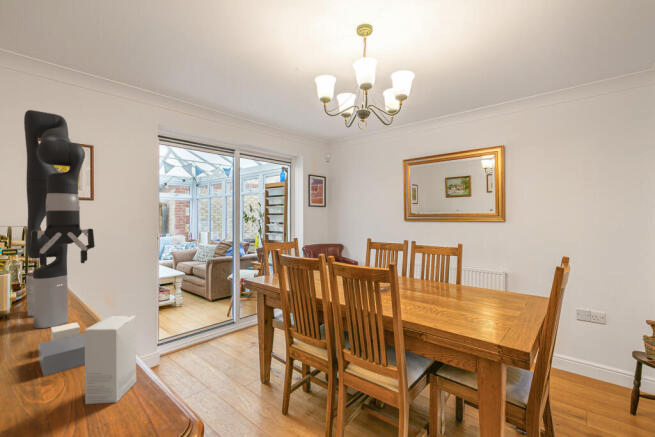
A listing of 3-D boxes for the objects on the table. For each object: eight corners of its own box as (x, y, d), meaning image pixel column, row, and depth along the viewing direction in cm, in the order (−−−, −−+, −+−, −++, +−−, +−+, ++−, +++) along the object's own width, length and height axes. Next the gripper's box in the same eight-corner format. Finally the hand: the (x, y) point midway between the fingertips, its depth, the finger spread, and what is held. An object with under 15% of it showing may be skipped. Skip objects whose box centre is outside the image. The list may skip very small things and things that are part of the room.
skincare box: (109, 383, 71) (107, 315, 71) (139, 381, 72) (138, 314, 71) (83, 405, 63) (81, 329, 62) (117, 403, 63) (116, 327, 63)
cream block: (51, 347, 91) (50, 327, 91) (77, 341, 96) (76, 322, 96) (53, 353, 87) (53, 332, 87) (80, 347, 91) (80, 326, 91)
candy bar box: (56, 308, 131) (55, 269, 131) (65, 308, 130) (65, 269, 130) (25, 316, 120) (25, 274, 120) (36, 317, 120) (35, 274, 119)
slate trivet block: (39, 362, 83) (38, 343, 83) (94, 347, 91) (94, 330, 91) (43, 377, 75) (43, 357, 74) (104, 360, 83) (103, 341, 83)
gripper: (90, 210, 99) (91, 261, 99) (29, 209, 89) (30, 266, 89) (95, 209, 94) (96, 263, 94) (30, 209, 83) (31, 269, 83)
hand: (64, 264), depth 91 cm, fingers open, 8 cm apart
